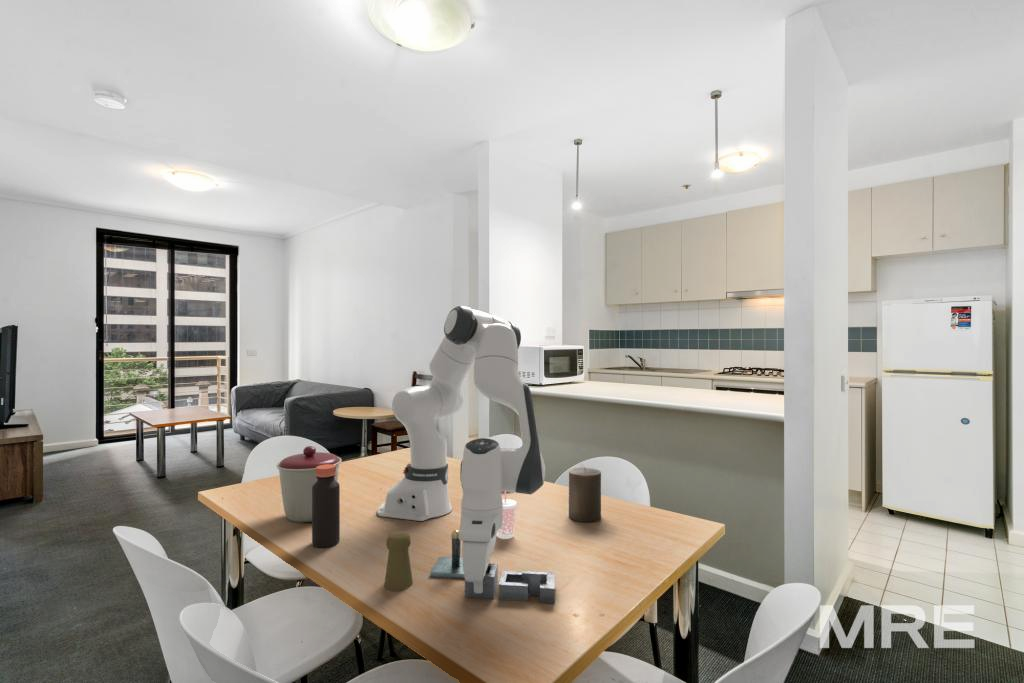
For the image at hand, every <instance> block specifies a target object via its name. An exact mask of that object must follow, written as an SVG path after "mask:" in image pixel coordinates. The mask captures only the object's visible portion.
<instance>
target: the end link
mask: <svg viewBox="0 0 1024 683" xmlns="http://www.w3.org/2000/svg"><path fill="white" fill-rule="evenodd" d="M498 564H499V563H489V564H488V567H487V570H486V573H485V576H484V579H483V581H484V588H483V592H482V593H475V592H474V584H473V582H467V581H466V580H465V579H464V598H471V599H473V598H476V599H490V600H492V599H495V595H496V591H497V588H498V586H499V581H498V578H499V576H498V575H499V571H498V570H499V569H498Z"/></svg>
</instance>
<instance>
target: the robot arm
mask: <svg viewBox="0 0 1024 683" xmlns="http://www.w3.org/2000/svg"><path fill="white" fill-rule="evenodd" d="M443 333H444V337H443V339H442V341H441V342H440V344H439V346H438V348H437V349H436V352H434V355H433V356H432V359H431V361H430V363H429V370H430V374H431V376H432V379H431V381H430V382H429V383H428V384H425V385H415V386H410V387H406V388H404V389H402V390H399V391H398V392H396V394H395V395H394V396H393V399H392V401H391V402H392V403H391V409H392V414H393V416H394V417H395V418H396V419H397V421H399V422H400V423H401V424H402V425H403V426H404V428H405V430H406V433H407V436H408V439H409V447H410V448H409V449H410V462H409V463H408V464H406V466H405V467H404V469H403V470H402V471H403V472H402V473H403V475H404V477H402V479H400V480H398V482H396V483H395V484H394V485H393V486H391V487H390V488H389V489H388V491H387V493H386V496H385V501H384V502H383V503H382V504H381V505H380V506H379V507H378V508H377V516H379V517H385V518H393V519H400V520H409V521H418V522H419V521H420V522H422V521H426V520H428V519H431V518H432V519H433V518H438V517H441V516H445V515H447V514H449V513H450V512H451V511H452V510H453V507H452V504H451V500H450V494H449V489H448V483H449V464H448V462H447V458H448V457H447V456H448V454H447V450H448V449H447V448H448V447H447V444H448V442H447V439H446V437H445V436H444V435H443V434H441V433H440V432H439V431H438V428H437V425H436V424H437V423H436V420H439V419H444V418H445V419H446V418H448V417H451V416H452V415H454V414H456V413H458V412H459V411H460V410H461V408H462V407H463V402H464V401H463V399H464V398H463V393H462V392H461V387H462V383H463V380H464V379H465V377H466V375H467V373H468V371H469V369H470V368H471V366H472V364H473V363H474V364H473V365H474V366H473V381H474V385H475V386H476V389H477V390H478V391H479V392H480V394H482V395H483V396H484V397H486V398H487V399H488V400H491V401H492V402H495V403H497V404H499V405H503V406H505V407H508V408H510V410H513V411H514V412H515V413H516V414H517V416H518V420H519V422H518V423H519V428H520V430H519V431H520V434H521V447H518V448H512V447H511V448H510V447H509V448H505V447H503V448H502V447H500V444H499V442H498V441H496V440H495V439H492V438H485V437H483V438H482V437H481V438H480V437H479V438H476V439H472V440H470V441H468V442H467V443H465V445H464V448H463V453H462V460H461V463H460V473H459V476H460V477H459V479H460V485H461V488H462V489H461V490H462V499H461V503H460V525H459V526H460V527H459V540H461V541H462V544H461V553H462V554H461V555H462V557H461V558H463V572H464V577H465V578H464V581H465V580H466V581H467V582H473V584H474V592H475V593H482V592H483V588H484V581H483V579H484V576H485V573H486V570H487V567H488V564H491V557H492V554H493V552H494V549H495V546H496V543H497V531H498V530H499V529H500V528H501V527H502V525H503V501H502V499H503V498H502V493H503V492H504V493H505V492H506V493H516V494H525V495H530V496H531V495H533V494H535V492H537V491H538V490H540V488H542V486H543V485H544V483H545V479H546V464H545V461H544V458H543V455H542V452H541V449H540V442H539V434H538V426H537V421H536V420H537V419H536V414H535V408H534V407H535V406H534V403H533V397H532V396H533V395H532V392H531V389H530V386H529V385H528V383H525V382H523V380H522V379H521V376H520V374H519V348H520V346H521V341H522V335H521V334H522V333H521V330H520V328H519V327H518V326H516V325H515V324H514V323H513V322H510V321H506V320H504V319H502V318H501V317H498V316H497V315H494V314H492V313H487V312H484V311H481V310H476V309H472V308H471V307H469V306H463V305H457V306H455V307H453V308H452V309H451V310H450V311H449V313H448V314H447V317H446V319H445V321H444V325H443Z"/></svg>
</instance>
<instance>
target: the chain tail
mask: <svg viewBox="0 0 1024 683" xmlns="http://www.w3.org/2000/svg"><path fill="white" fill-rule="evenodd" d="M499 578H500V579H499V581H498V600H508V601H509V600H510V601H522V602H523V601H525V602H528V601H529V595H530V596H531V595H533V596H539V604H552V605H553V604H554V605H555V603H556V572H550V571H528V570H522V571H511V570H509V571H507V570H502V571H501V574H500V577H499Z"/></svg>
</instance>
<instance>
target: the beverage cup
mask: <svg viewBox="0 0 1024 683" xmlns="http://www.w3.org/2000/svg"><path fill="white" fill-rule="evenodd" d="M502 501H503V525H502V527H501V528H500V529H499V530H498V531H497V534H496V538H499V539H501V540H509V539H512V538H514V536H515V522H516V507H517V504H518V503H517V501H516V500H514V499H510V498H507V492H504V498H502Z"/></svg>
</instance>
